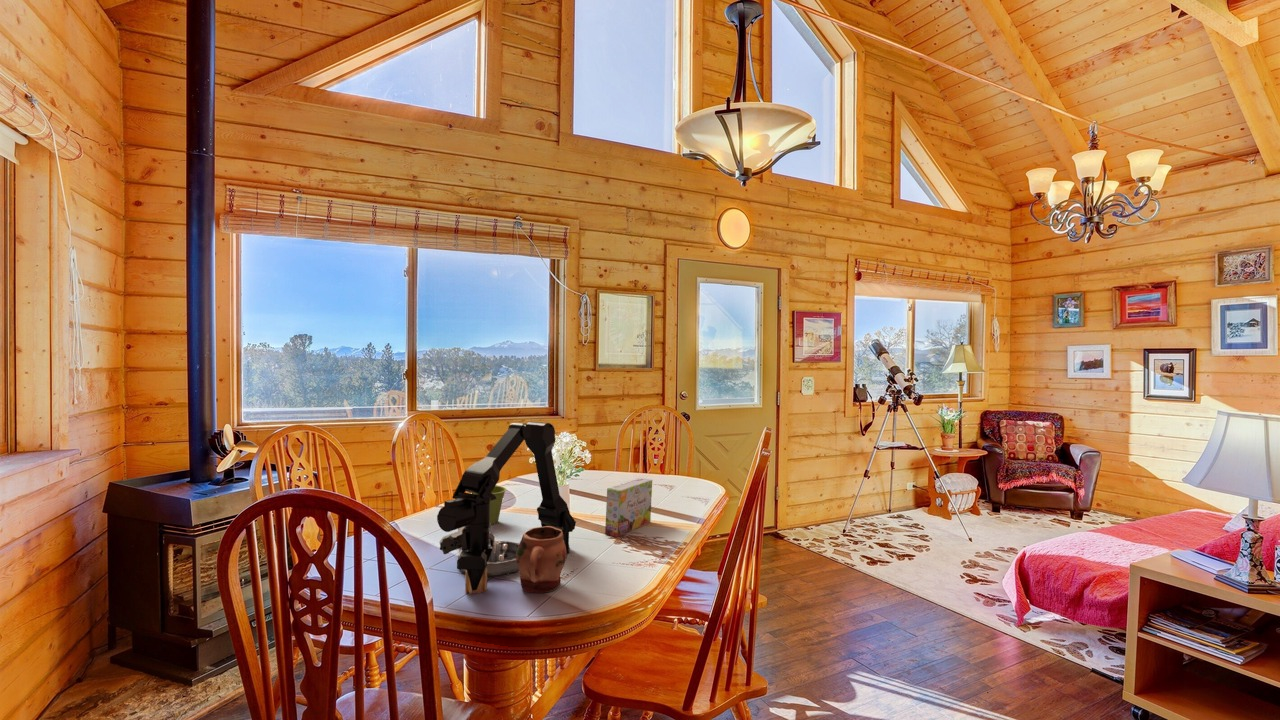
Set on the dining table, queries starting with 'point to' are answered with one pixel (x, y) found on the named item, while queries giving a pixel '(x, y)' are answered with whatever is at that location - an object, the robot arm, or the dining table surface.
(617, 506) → the snack box
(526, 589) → the terracotta mug
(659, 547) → the dining table surface
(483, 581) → the bronze pinion
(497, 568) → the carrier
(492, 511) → the plant pot
